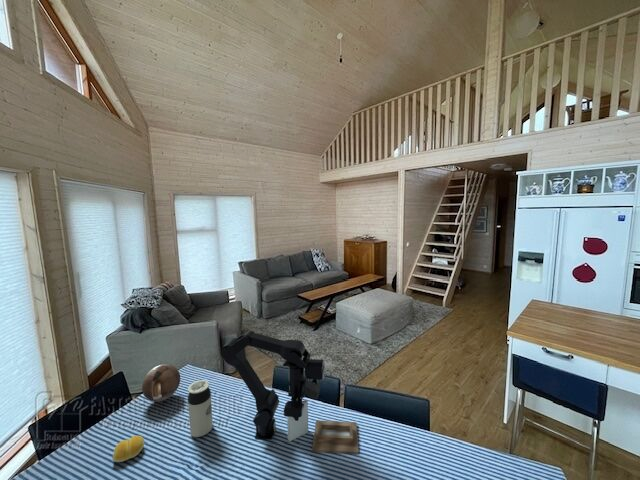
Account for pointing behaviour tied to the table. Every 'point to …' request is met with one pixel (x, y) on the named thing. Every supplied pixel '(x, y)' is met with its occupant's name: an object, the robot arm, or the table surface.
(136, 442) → the bread roll
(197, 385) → the travel mug
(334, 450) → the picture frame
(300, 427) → the external hard drive
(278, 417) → the table surface
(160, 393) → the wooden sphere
